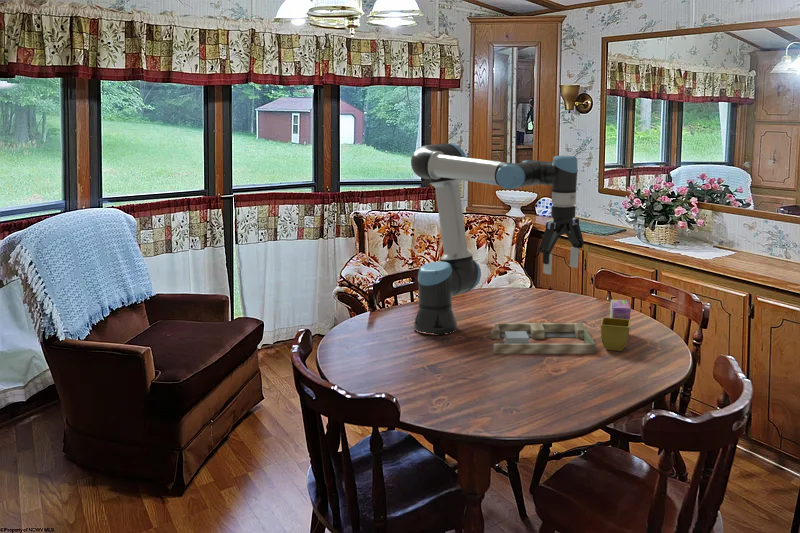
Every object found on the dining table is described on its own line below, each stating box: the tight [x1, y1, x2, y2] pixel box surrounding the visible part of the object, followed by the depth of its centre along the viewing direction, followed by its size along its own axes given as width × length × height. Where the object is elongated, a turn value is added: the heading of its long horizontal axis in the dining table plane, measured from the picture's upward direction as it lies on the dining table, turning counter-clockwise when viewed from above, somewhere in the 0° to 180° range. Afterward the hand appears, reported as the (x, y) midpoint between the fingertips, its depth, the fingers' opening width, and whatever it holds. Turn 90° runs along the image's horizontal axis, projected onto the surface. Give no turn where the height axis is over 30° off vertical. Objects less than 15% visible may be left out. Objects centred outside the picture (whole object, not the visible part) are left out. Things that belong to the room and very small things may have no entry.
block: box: [504, 331, 530, 344], centre depth 243 cm, size 7×7×4 cm
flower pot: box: [600, 317, 631, 352], centre depth 238 cm, size 9×9×9 cm
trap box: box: [490, 322, 597, 355], centre depth 246 cm, size 32×23×3 cm
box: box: [609, 299, 631, 343], centre depth 249 cm, size 10×6×12 cm, turn 168°
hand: (560, 270), depth 239 cm, fingers open, 13 cm apart
